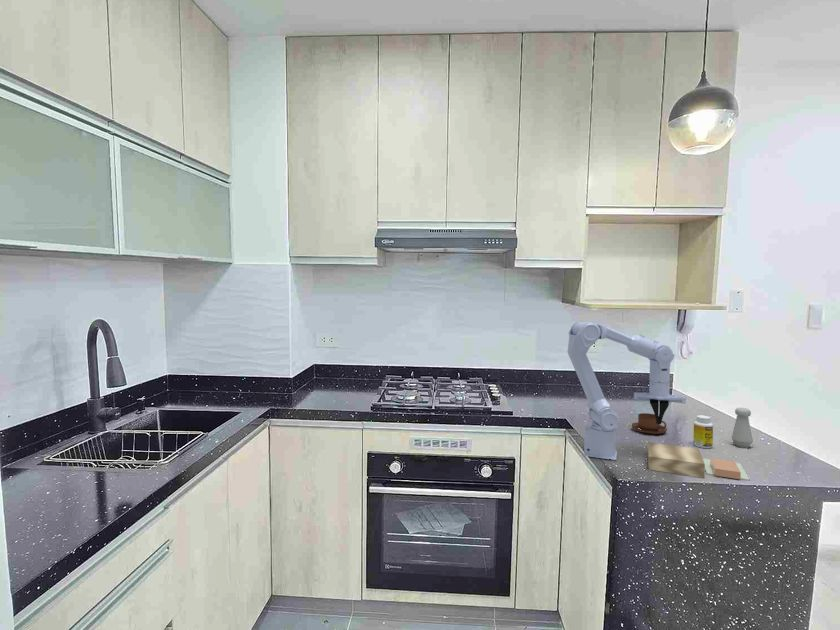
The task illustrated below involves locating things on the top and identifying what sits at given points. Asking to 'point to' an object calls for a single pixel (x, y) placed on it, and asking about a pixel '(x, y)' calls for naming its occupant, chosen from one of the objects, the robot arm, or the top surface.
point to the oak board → (675, 459)
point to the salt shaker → (742, 428)
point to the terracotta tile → (725, 468)
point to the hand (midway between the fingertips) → (658, 423)
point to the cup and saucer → (648, 424)
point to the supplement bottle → (703, 432)
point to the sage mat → (710, 472)
